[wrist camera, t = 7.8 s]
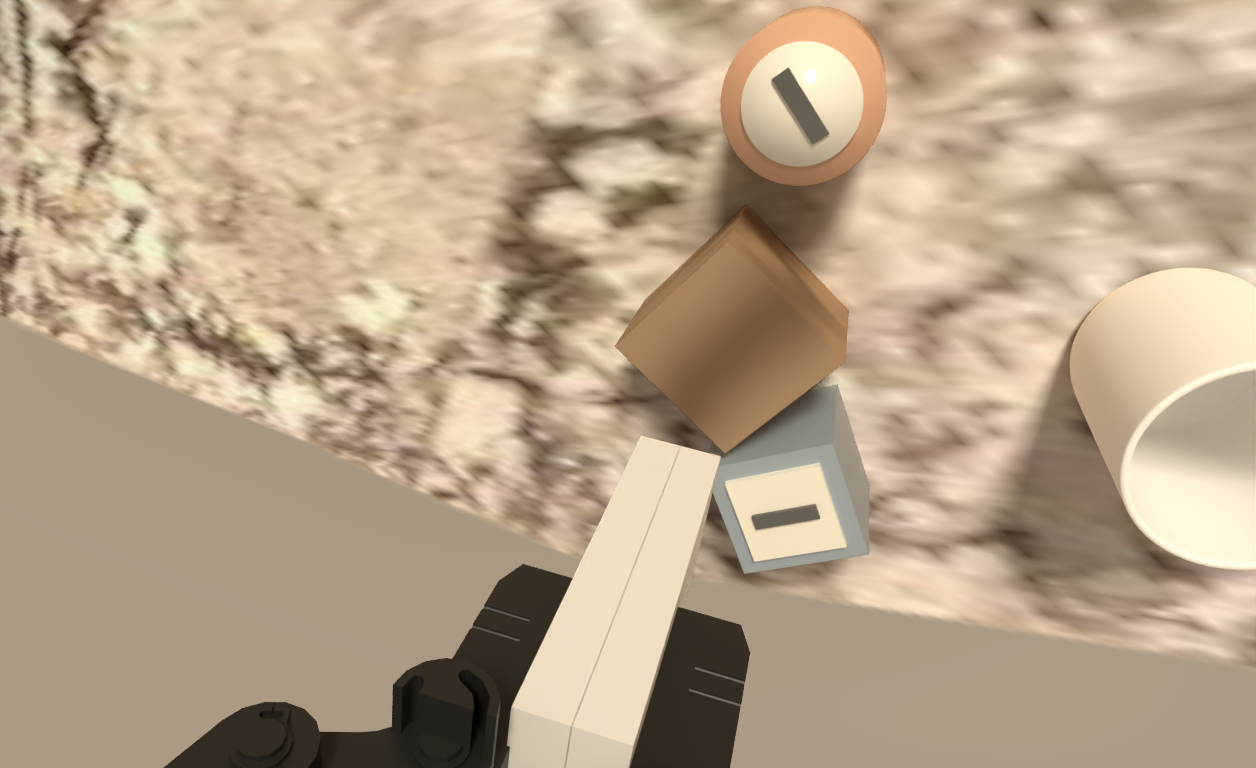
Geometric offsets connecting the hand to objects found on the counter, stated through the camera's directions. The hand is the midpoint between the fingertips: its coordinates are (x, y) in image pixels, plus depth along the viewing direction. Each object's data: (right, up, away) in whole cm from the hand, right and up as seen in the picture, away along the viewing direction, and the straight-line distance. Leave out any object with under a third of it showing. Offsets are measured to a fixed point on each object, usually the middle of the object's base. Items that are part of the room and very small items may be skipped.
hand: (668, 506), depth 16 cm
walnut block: (+5, +6, +26) cm, 27 cm away
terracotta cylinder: (+7, +15, +21) cm, 27 cm away
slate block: (+8, -1, +29) cm, 30 cm away
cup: (+25, +3, +22) cm, 33 cm away
